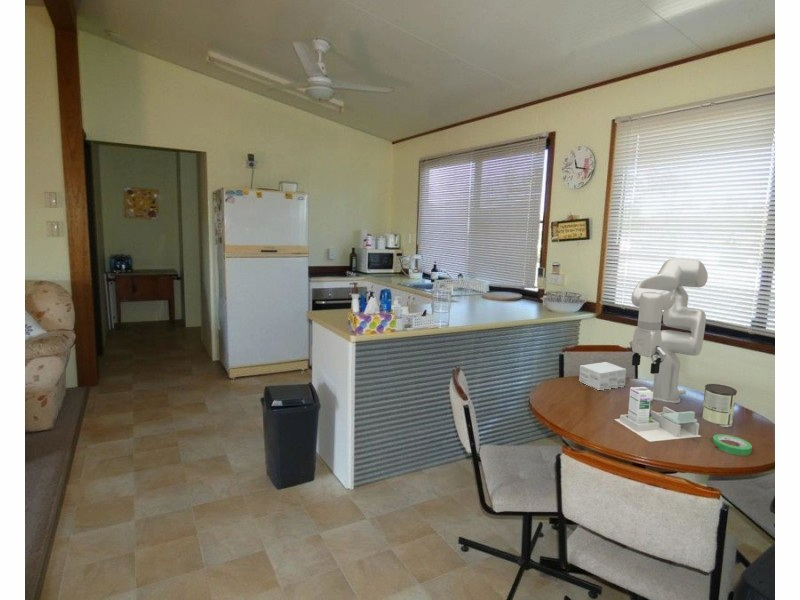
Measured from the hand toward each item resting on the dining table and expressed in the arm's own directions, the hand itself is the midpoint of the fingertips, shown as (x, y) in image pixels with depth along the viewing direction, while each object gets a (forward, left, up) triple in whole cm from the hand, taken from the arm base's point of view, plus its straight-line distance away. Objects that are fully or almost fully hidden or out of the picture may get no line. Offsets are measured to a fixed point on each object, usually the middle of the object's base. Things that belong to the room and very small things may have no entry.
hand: (644, 369), depth 169 cm
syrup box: (0, 0, -23) cm, 23 cm away
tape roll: (-21, +20, -24) cm, 37 cm away
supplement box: (-16, -45, -24) cm, 54 cm away
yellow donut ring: (-11, 0, -22) cm, 25 cm away
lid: (-11, +7, -18) cm, 22 cm away
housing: (-5, +3, -23) cm, 24 cm away
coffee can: (-35, +1, -24) cm, 42 cm away
